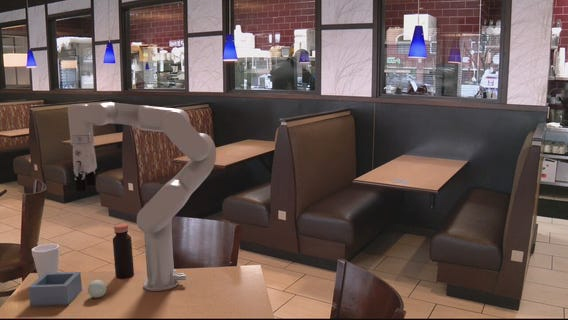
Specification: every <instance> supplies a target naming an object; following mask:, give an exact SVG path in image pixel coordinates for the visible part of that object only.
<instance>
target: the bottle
mask: <svg viewBox="0 0 568 320" xmlns="http://www.w3.org/2000/svg"><path fill="white" fill-rule="evenodd" d="M113 230H114V234H115V236H114V237H113V238H112V248H113V259H114V270H115V271H114V272H115V278H116V279H119V280H124V279H125V280H127V279H130V278H132V277H133V276H134V275H135V268H134V256H133V242H132V236H131V235H130V234H128V232H129V225H128V224H127V223H118V224H115V225H114V226H113Z"/></svg>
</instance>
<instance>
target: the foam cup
mask: <svg viewBox="0 0 568 320" xmlns="http://www.w3.org/2000/svg"><path fill="white" fill-rule="evenodd" d="M60 252H61V250H60V245H59V243H45V244H40V245H36V246H34V247H33V248H31V256H32V258H33V261H34V266H35V269H36V272H37V277H38V278H40V277H41V276H42V275H43V274H44V273H60V271H59V270H60V269H59V267H60Z"/></svg>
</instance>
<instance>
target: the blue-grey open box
mask: <svg viewBox="0 0 568 320" xmlns="http://www.w3.org/2000/svg"><path fill="white" fill-rule="evenodd" d="M82 284H83V283H82V275H81V271H72V272H71V271H70V272H69V271H68V272H66V271H65V272H64V271H63V272H58V273H44V274H43V275H42V276H41V277H40V278H39V277H38V278H37V279H36V280H35V281H34V282H33V283H31V284H30V285H29V286H28V287H27V289H28V296H29V304H30V305H29V307H30V308H42V307H43V308H46V307H47V308H48V307H69V306H70V305H69V304H72V303H73V301H75V299H76V298H77V297H78V296H79V295H80V294H81V292H82V291H83V285H82ZM79 293H80V294H79ZM78 294H79V295H78ZM77 295H78V296H77Z"/></svg>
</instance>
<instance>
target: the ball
mask: <svg viewBox="0 0 568 320" xmlns="http://www.w3.org/2000/svg"><path fill="white" fill-rule="evenodd" d="M87 292H88V295H89V296H91V297H92V298H95V299H98V298H101V297H103V296H104V295H105V294H106V292H107V284H106V283H105V282H104V281H103V280H102V279H101V280H100V279H95V280H93V281H91V282H90V284H88V287H87Z"/></svg>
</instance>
